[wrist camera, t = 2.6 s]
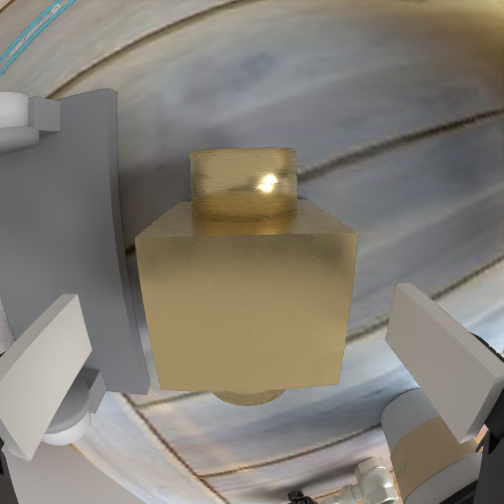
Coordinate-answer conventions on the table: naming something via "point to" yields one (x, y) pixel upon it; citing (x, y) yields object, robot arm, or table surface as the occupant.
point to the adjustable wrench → (35, 22)
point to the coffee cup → (428, 453)
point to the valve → (360, 487)
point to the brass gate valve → (246, 281)
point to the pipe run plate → (68, 240)
